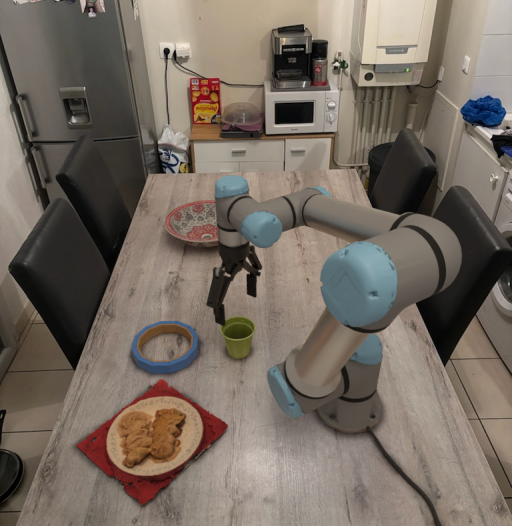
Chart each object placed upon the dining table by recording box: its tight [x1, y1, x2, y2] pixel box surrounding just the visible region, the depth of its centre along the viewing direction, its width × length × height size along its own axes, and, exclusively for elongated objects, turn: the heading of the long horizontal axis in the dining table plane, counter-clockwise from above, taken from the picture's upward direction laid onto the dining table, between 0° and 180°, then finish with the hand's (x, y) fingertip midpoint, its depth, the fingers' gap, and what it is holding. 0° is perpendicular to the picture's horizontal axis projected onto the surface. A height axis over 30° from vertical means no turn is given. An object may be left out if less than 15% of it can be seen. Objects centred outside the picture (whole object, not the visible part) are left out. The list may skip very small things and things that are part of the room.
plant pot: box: [219, 315, 257, 360], centre depth 143 cm, size 9×9×9 cm
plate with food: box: [75, 379, 229, 506], centre depth 121 cm, size 24×26×4 cm
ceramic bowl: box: [164, 199, 218, 248], centre depth 192 cm, size 29×29×8 cm
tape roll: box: [130, 320, 200, 375], centre depth 145 cm, size 18×18×3 cm
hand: (236, 309), depth 137 cm, fingers open, 13 cm apart
